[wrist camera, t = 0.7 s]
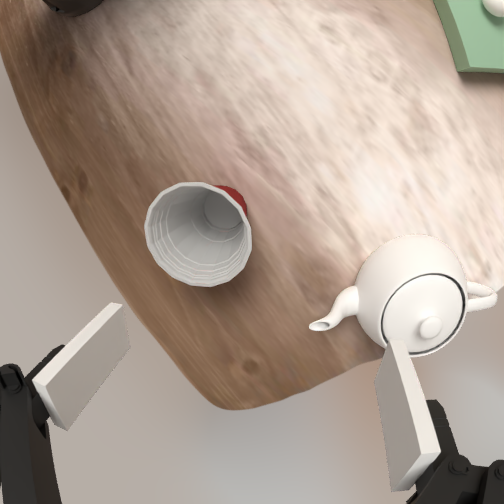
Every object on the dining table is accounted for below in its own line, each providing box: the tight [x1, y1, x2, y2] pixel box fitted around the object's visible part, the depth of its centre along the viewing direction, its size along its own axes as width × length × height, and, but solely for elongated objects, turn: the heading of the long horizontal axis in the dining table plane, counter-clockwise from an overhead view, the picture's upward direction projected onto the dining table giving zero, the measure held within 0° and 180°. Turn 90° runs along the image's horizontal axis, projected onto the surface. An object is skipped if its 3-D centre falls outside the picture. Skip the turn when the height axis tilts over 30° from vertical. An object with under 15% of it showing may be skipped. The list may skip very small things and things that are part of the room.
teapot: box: [309, 234, 497, 358], centre depth 34 cm, size 25×16×12 cm, turn 97°
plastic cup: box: [144, 182, 252, 287], centre depth 35 cm, size 11×11×12 cm
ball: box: [482, 0, 504, 17], centre depth 19 cm, size 4×4×4 cm
